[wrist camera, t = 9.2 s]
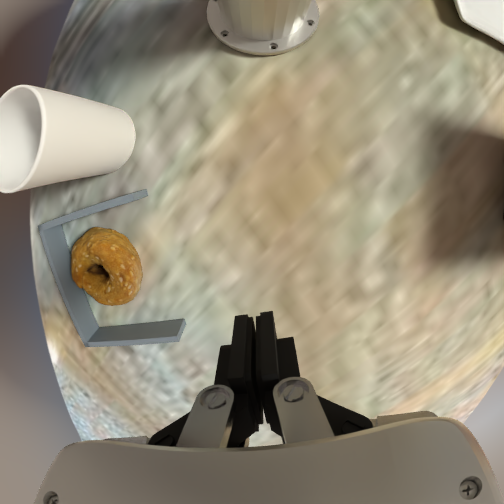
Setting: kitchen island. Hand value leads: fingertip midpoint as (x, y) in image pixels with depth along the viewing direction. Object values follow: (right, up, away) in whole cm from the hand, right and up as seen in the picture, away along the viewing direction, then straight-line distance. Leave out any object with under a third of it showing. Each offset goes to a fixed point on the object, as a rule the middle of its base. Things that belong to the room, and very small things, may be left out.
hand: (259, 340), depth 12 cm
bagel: (-19, +3, +21) cm, 28 cm away
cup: (-18, +17, +16) cm, 29 cm away
